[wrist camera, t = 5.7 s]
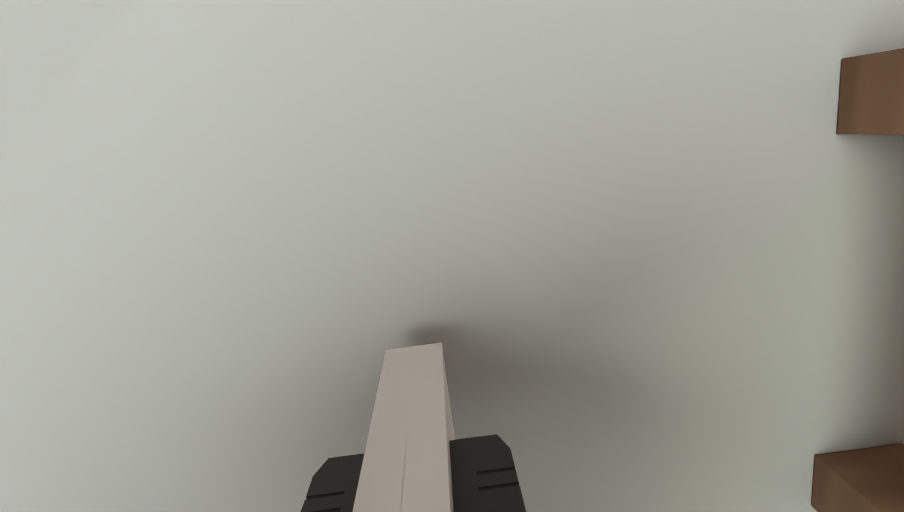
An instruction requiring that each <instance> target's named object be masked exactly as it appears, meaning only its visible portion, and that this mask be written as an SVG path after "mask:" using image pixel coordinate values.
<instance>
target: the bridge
mask: <svg viewBox="0 0 904 512" xmlns="http://www.w3.org/2000/svg"><path fill="white" fill-rule="evenodd" d="M837 134H874V135H904V48H903V49H897V50H891V51H885V52H880V53H874V54H868V55H862V56H856V57H850V58H844V59H842V68H841V83H840V97H839V112H838V127H837ZM812 507H813V508H814V509H816V510H817V511H818V512H904V444H897V445H890V446H882V447H875V448H867V449H860V450H852V451H845V452H837V453H830V454H822V455H815V463H814V478H813V493H812Z"/></svg>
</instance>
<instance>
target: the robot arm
mask: <svg viewBox="0 0 904 512" xmlns="http://www.w3.org/2000/svg"><path fill="white" fill-rule="evenodd" d="M301 512H526V510H525V506H524V502H523V498H522V494H521V490H520V486H519V482H518V478H517V474H516V470H515V466H514V462H513V458H512V453H511V449H510V448H509V447H508V446H507V445H506V444H505V443H504V442H503V440H502V439H501V438H500V437H499V436H498V435H497V434H496V435H488V436H481V437H473V438H465V439H458V440H455V438H454V428H453V421H452V413H451V406H450V399H449V392H448V384H447V377H446V370H445V362H444V355H443V348H442V342H441V343H433V344H426V345H418V346H410V347H403V348H395V349H387V350H386V351H385V355H384V360H383V365H382V370H381V375H380V380H379V385H378V390H377V395H376V399H375V404H374V409H373V414H372V419H371V424H370V429H369V434H368V438H367V443H366V448H365V453H364V454H357V455H350V456H342V457H334V458H328V460H327V461H326V462H325V463H324V464H323V465H322V467H321V468H320V469H319V470H318V471H317V472H316V473H315V475H314V476H313V478H312V481H311V484H310V487H309V490H308V493H307V496H306V500H305V501H304V504H303V507H302V510H301Z"/></svg>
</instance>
